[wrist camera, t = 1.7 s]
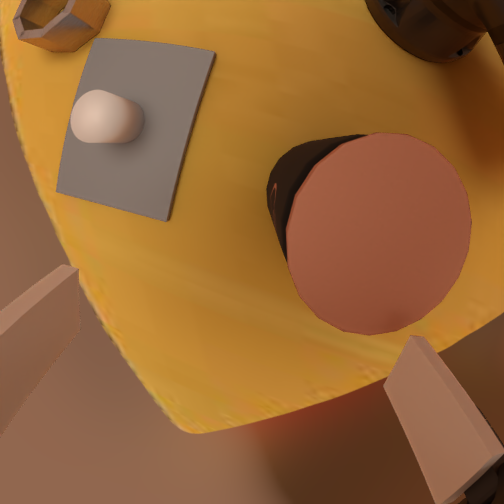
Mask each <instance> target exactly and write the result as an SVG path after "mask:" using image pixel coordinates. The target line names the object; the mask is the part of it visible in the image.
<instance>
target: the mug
mask: <svg viewBox="0 0 504 504" xmlns="http://www.w3.org/2000/svg"><path fill="white" fill-rule="evenodd" d="M64 7H65V9H64V10H63V11H62V12H61V13H60V14H59V11H61V10H62V9H63V8H64ZM110 7H111V5H110V4H109V2H108V0H22V1H21V3H20V5H19V7H18V9H17V12H16V14H15V16H14V18H13V23H14V27H15V30H16V33H17V36H18V39H19V40H21V41H24V42H27V43H30V44H32V45H35V46H38V47H40V48H43V49H45V50H48V51H51V52H75V51H76V50H77V49H79V48H80V47H81V46H82V45H84V44H85V43H86V42H87V41H89V40H90V39H91V38H93V37H94V36H95V35H97V34H98V33H99V32H100V30H101V27H102V25H103V23H104V20H105V18H106V16H107V13H108V11H109V9H110ZM58 14H59V15H58Z"/></svg>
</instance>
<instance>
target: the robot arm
mask: <svg viewBox="0 0 504 504" xmlns="http://www.w3.org/2000/svg"><path fill="white" fill-rule="evenodd" d="M366 3H367V6H368V8H369V10H370V12H371V14H372V16H373V17H374V19H375V20H376V22H377V23H378V25H379V26H380V27H381V28H382V30H383V31H384V32H385V33H386V34H387V35H388V36H389V37H390V38H391V39H392V40H393V41H394V42H396V43H397V44H398V45H399V46H401V47H402V48H403V49H405V50H406V51H408V52H409V53H411V54H413V55H415V56H417V57H419V58H421V59H424V60H427V61H430V62H435V63H447V62H451V61H454V60H457V59H460V58H462V57H464V56H466V55H467V54H468V53H469V52H470V51H471V50H472V49H473V48H474V47H475V45H476V44H477V43H478V42H479V41H480V39H481V38H482V37H483V36H484V35H485V33H486V32H488V33H489V35H490V37H491V39H492V41H493V43H494V45H495V47H496V49H497V51H498V53H499V55H500V58H501V60H502V62H503V64H504V0H366ZM80 330H81V326H80V308H79V269H78V268H74V267H71V266H67V265H64V264H62V265H61V266H59V267H58V268H56V269H55V270H54V271H52V272H51V273H49V274H48V275H47V276H45V277H44V278H43V279H41V280H40V281H39V282H37V283H36V284H35V285H33V286H32V287H31V288H30V289H28V290H27V291H26V292H24V293H23V294H21V295H20V296H19V297H18V298H16V299H15V300H14V301H12V302H11V303H10V304H9V305H7V306H6V307H5V308H4V309H3V310H1V311H0V437H1V435H2V434H3V433H4V431H5V430H6V428H7V427H8V425H9V424H10V422H11V421H12V419H13V418H14V416H15V415H16V414H17V412H18V411H19V409H20V408H21V406H22V405H23V404H24V402H25V401H26V400H27V398H28V397H29V395H30V394H31V393H32V391H33V390H34V388H35V387H36V386H37V384H38V383H39V382H40V380H41V379H42V378H43V377H44V375H45V374H46V373H47V371H48V370H49V368H50V367H51V366H52V364H53V363H54V362H55V361H56V360H57V358H58V357H59V356H60V354H61V353H62V352H63V351H64V350H65V348H66V347H67V346H68V345H69V343H70V342H71V341H72V340H73V338H74V337H75V336H76V335H77V333H78V332H79V331H80ZM383 387H384V389H385V391H386V393H387V395H388V397H389V399H390V401H391V403H392V406H393V408H394V409H395V412H396V414H397V416H398V418H399V421H400V423H401V425H402V427H403V429H404V431H405V434H406V436H407V438H408V440H409V443H410V445H411V447H412V449H413V452H414V454H415V456H416V458H417V461H418V463H419V465H420V467H421V470H422V472H423V475H424V477H425V479H426V482H427V484H428V487H429V489H430V492H431V494H432V497H433V499H434V502H435V504H448V503H451V502H453V501H454V500H455V499H457V498H458V497H459V496H460V495H461V494H462V493H465V495H466V498H465V499H463V500H462V501H461V502H460V503H458V504H504V445H503V443H502V442H501V440H500V439H499V437H498V436H497V434H496V433H495V431H494V430H493V428H492V427H490V426H491V425H490V424H489V422H488V421H487V420H485V419H486V418H485V416H484V415H483V413H482V412H481V411H480V409H479V408H478V407H477V406H476V405H475V404H474V403H473V402H472V400H471V399H470V397H469V396H468V395H467V393H466V392H465V390H464V389H463V388H462V386H461V385H460V383H459V382H458V381H457V379H456V378H455V377H454V375H453V374H452V373H451V371H450V370H449V369H448V367H447V366H446V365H445V363H444V362H443V361H442V359H441V358H440V357H439V356H438V354H437V353H436V352H435V350H434V349H433V348H432V347H431V345H430V344H429V343H428V341H427V340H426V339H425V338H424V337H420V336H412V335H410V337H409V339H408V341H407V343H406V345H405V347H404V349H403V351H402V353H401V355H400V356H399V358H398V360H397V362H396V364H395V366H394V368H393V369H392V371H391V373H390V375H389V376H388V378H387V380H386V382H385V383H384V385H383Z"/></svg>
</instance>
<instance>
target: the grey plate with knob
mask: <svg viewBox="0 0 504 504" xmlns="http://www.w3.org/2000/svg"><path fill="white" fill-rule="evenodd" d="M215 57H216V53H215V52H214V51H209V50H204V49H199V48H193V47H187V46H180V45H174V44H166V43H158V42H149V41H139V40H126V39H107V38H95V39H94V42H93V45H92V47H91V50H90V53H89V55H88V58H87V61H86V64H85V67H84V70H83V73H82V76H81V79H80V83H79V86H78V89H77V93H76V96H75V100H74V103H73V107H72V111H71V115H70V119H69V123H68V128H67V132H66V137H65V141H64V146H63V151H62V157H61V162H60V168H59V174H58V181H57V188H56V192H58V193H62V194H65V195H69V196H73V197H77V198H80V199H84V200H88V201H91V202H95V203H99V204H102V205H106V206H110V207H113V208H117V209H121V210H124V211H128V212H132V213H135V214H139V215H143V216H146V217H150V218H154V219H157V220H161V221H165V222H167V221H168V220H169V218H170V213H171V209H172V204H173V200H174V196H175V192H176V188H177V184H178V180H179V176H180V172H181V168H182V164H183V161H184V157H185V153H186V149H187V146H188V142H189V139H190V135H191V132H192V128H193V125H194V122H195V118H196V115H197V112H198V108H199V105H200V102H201V99H202V96H203V93H204V89H205V86H206V83H207V80H208V77H209V74H210V71H211V69H212V66H213V63H214V60H215Z"/></svg>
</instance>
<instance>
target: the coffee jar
mask: <svg viewBox="0 0 504 504" xmlns="http://www.w3.org/2000/svg"><path fill="white" fill-rule="evenodd" d="M267 203H268V208H269V211H270V214H271V217H272V221H273V224H274V227H275V230H276V233H277V236H278V239H279V242H280V245H281V248H282V251H283V253H284V256H285V258H286V261H287V264H288V269H289V271H290V274H291V276H292V279H293V281H294V284H295V286H296V289H297V291H298V294H299V296H300V298H301V299H302V300H303V301H304V302H305V303H306V304H307V305H308V307H309V308H310V309H311V310H312V311H313V312H314V313H315V315H316V316H317V317H318V318H319V319H321V320H323V321H325V322H327V323H329V324H331V325H332V326H334V327H336V328H338V329H340V330H342V331H344V332H351V333H357V334H364V335H375V334H382V333H388V332H393V331H397V330H399V329H402V328H404V327H406V326H408V325H410V324H412V323H414V322H416V321H418V320H420V319H422V318H423V317H424V316H425V315H426V314H428V313H429V312H430V311H431V310H432V309H433V308H435V307H436V306H437V305H438V304H439V303H440V302H441V301H442V300H443V299H444V297H445V296H446V295H447V293H448V292H449V290H450V289H451V288H452V286H453V285H454V283H455V282H456V280H457V279H458V277H459V275H460V272H461V269H462V267H463V264H464V262H465V259H466V256H467V253H468V250H469V243H470V234H471V223H472V221H471V214H470V208H469V202H468V196H467V192H466V190H465V188H464V186H463V184H462V182H461V180H460V178H459V176H458V174H457V172H456V170H455V168H454V167H453V166H452V165H451V164H450V162H449V161H448V160H447V159H446V158H445V157H444V156H443V155H442V154H441V153H440V152H439V151H438V150H437V149H436V148H435V147H433V146H431V145H429V144H427V143H425V142H423V141H421V140H419V139H416V138H414V137H412V136H410V135H407V134H396V133H373V134H370V135H360V134H357V135H349V136H342V137H335V138H328V139H322V140H316V141H309V142H307V143H304V144H301V145H298V146H296V147H293V148H292V149H291V150H289V151H288V152H287V153H286V154H284V155H283V156H282V157H281V158H280V159H279V160H278V162H277V163H276V165H275V167H274V168H273V170H272V171H271V173H270V177H269V181H268V185H267Z"/></svg>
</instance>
